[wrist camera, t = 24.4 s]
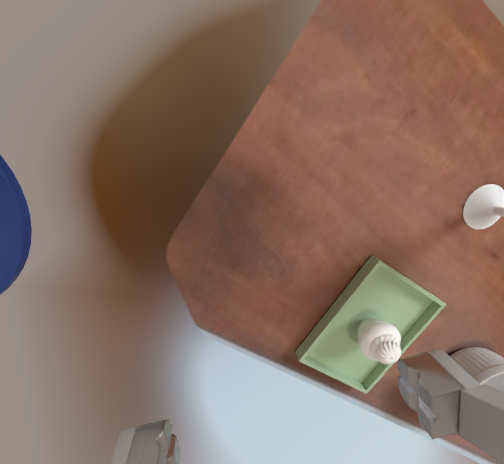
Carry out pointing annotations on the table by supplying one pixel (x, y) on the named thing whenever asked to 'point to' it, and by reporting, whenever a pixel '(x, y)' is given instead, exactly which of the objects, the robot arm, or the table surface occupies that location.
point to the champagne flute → (484, 206)
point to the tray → (358, 309)
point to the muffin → (379, 341)
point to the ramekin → (482, 365)
